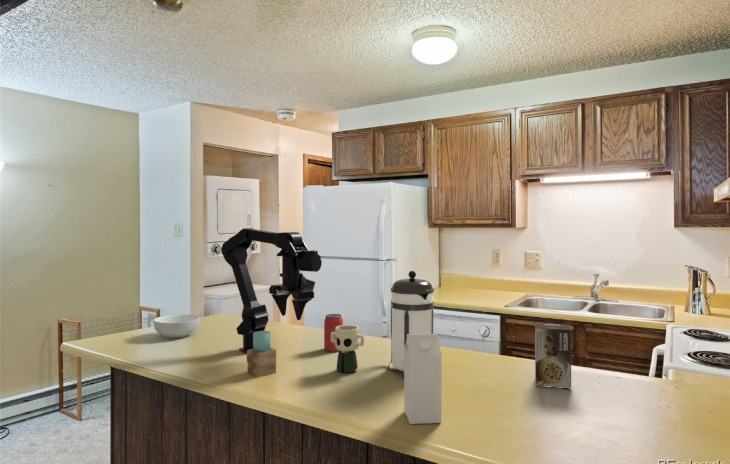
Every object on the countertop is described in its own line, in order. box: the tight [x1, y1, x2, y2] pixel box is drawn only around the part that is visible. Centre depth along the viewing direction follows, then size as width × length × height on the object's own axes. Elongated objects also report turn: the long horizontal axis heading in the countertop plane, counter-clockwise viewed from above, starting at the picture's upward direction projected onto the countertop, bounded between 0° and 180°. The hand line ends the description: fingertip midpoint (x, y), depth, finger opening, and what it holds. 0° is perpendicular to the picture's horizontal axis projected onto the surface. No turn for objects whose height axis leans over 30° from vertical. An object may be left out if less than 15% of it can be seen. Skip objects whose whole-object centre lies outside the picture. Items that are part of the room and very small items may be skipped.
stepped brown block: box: [246, 348, 277, 366], centre depth 136 cm, size 6×6×4 cm
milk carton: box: [403, 333, 443, 425], centre depth 105 cm, size 7×7×19 cm
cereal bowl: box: [153, 314, 201, 339], centre depth 181 cm, size 17×17×7 cm
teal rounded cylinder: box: [253, 330, 272, 352], centre depth 136 cm, size 5×5×5 cm
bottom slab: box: [247, 361, 277, 378], centre depth 137 cm, size 6×6×4 cm
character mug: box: [331, 324, 365, 373], centre depth 138 cm, size 11×7×13 cm, turn 67°
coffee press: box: [387, 270, 435, 380], centre depth 138 cm, size 17×16×30 cm
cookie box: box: [534, 322, 572, 389], centre depth 127 cm, size 9×6×16 cm
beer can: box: [323, 313, 344, 353], centre depth 161 cm, size 7×7×12 cm
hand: (291, 317), depth 152 cm, fingers open, 9 cm apart
